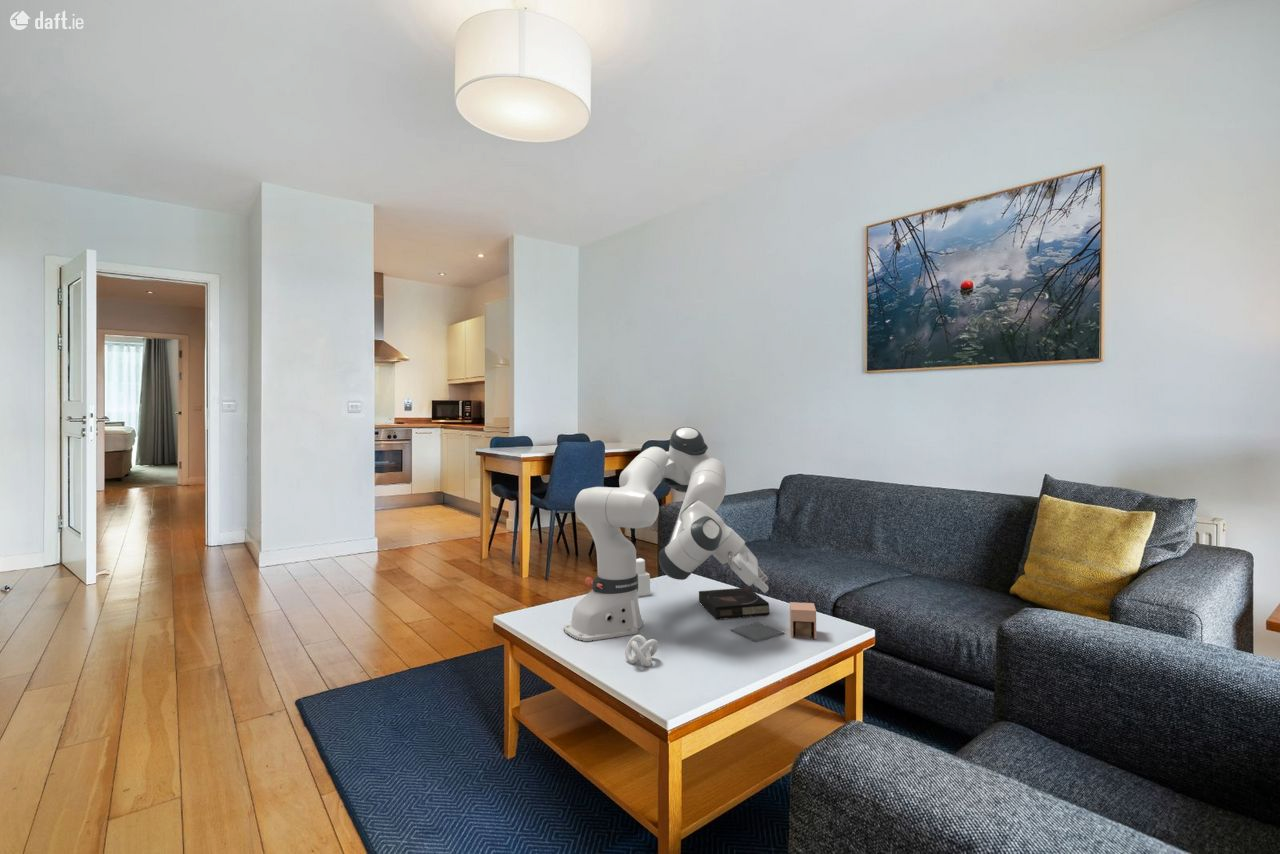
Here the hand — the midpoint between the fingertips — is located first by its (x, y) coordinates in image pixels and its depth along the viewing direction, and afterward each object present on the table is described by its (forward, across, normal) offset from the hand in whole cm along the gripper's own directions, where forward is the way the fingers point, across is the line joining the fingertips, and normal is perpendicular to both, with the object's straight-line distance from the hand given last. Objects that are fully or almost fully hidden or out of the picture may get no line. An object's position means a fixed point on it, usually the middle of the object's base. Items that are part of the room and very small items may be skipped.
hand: (766, 585), depth 165 cm
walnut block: (+16, 0, +2) cm, 16 cm away
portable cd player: (+3, +19, +16) cm, 25 cm away
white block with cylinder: (-20, +30, +39) cm, 53 cm away
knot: (-12, -24, +30) cm, 41 cm away
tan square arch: (+16, 0, +2) cm, 16 cm away
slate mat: (+7, -1, +11) cm, 13 cm away
